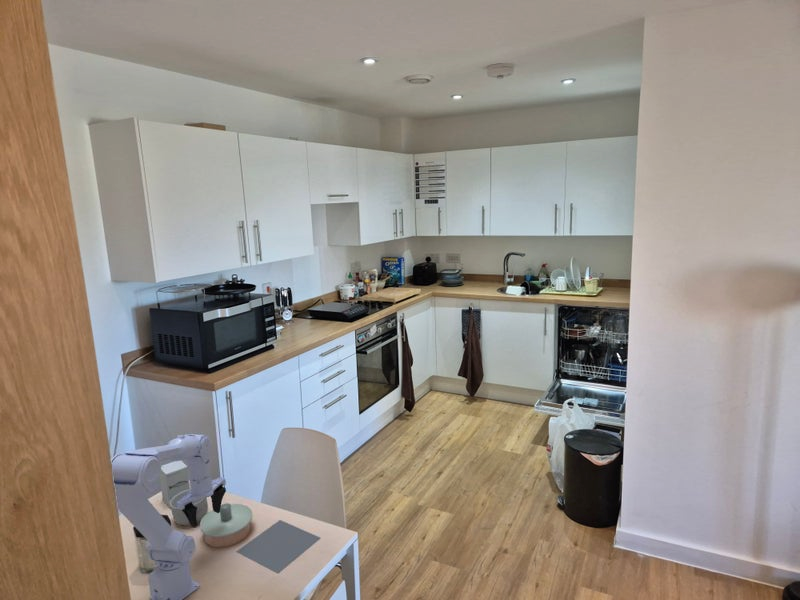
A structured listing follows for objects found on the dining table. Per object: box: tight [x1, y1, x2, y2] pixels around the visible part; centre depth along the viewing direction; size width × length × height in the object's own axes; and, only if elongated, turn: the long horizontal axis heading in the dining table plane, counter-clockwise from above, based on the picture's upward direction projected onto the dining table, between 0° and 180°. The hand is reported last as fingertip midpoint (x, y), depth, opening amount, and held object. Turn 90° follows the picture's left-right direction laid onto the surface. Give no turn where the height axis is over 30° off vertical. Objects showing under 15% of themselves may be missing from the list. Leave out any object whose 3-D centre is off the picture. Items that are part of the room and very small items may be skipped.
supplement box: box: [158, 460, 190, 509], centre depth 173 cm, size 7×7×13 cm
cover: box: [199, 502, 253, 537], centre depth 154 cm, size 15×15×5 cm
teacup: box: [170, 489, 209, 527], centre depth 164 cm, size 14×11×8 cm
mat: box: [235, 519, 321, 574], centre depth 149 cm, size 17×17×1 cm
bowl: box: [203, 522, 251, 548], centre depth 155 cm, size 13×13×4 cm
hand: (205, 518), depth 146 cm, fingers open, 7 cm apart
